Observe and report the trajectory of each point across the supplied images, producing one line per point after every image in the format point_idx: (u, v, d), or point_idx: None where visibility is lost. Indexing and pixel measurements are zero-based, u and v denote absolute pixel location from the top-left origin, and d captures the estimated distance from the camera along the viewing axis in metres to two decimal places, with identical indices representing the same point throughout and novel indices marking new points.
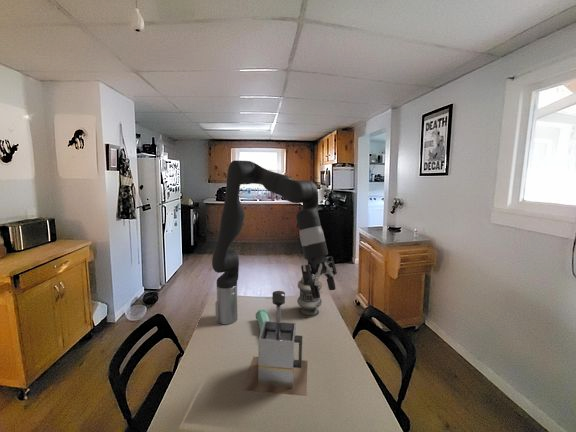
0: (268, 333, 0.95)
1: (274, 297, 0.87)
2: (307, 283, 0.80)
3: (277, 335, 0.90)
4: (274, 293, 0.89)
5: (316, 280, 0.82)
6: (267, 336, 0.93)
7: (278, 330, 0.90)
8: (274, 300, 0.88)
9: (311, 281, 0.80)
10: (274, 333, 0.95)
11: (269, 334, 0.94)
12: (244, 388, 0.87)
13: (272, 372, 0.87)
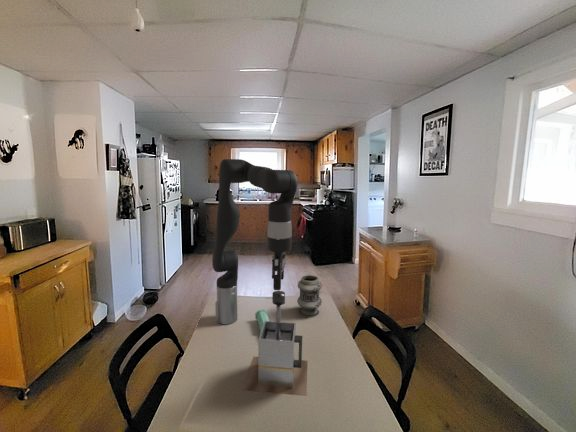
0: (268, 333, 0.95)
1: (274, 297, 0.87)
2: (276, 277, 0.81)
3: (277, 335, 0.90)
4: (274, 293, 0.89)
5: (281, 273, 0.83)
6: (267, 336, 0.93)
7: (278, 330, 0.90)
8: (274, 300, 0.88)
9: (280, 275, 0.81)
10: (274, 333, 0.95)
11: (269, 334, 0.94)
12: (244, 388, 0.87)
13: (272, 372, 0.87)
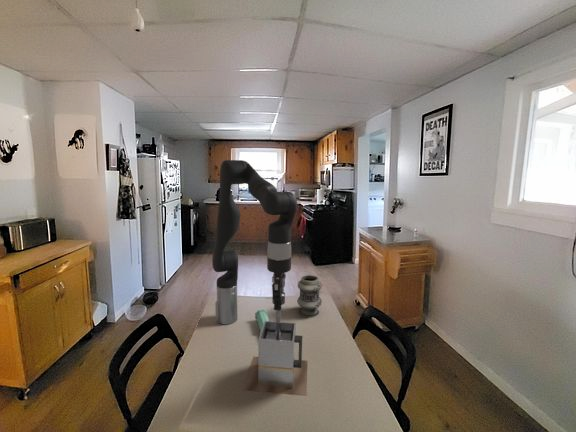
0: (268, 333, 0.95)
1: None
2: (276, 298, 0.84)
3: (277, 335, 0.90)
4: None
5: (281, 294, 0.86)
6: (267, 336, 0.93)
7: (278, 330, 0.90)
8: None
9: (281, 296, 0.84)
10: (274, 333, 0.95)
11: (269, 334, 0.94)
12: (244, 388, 0.87)
13: (272, 372, 0.87)
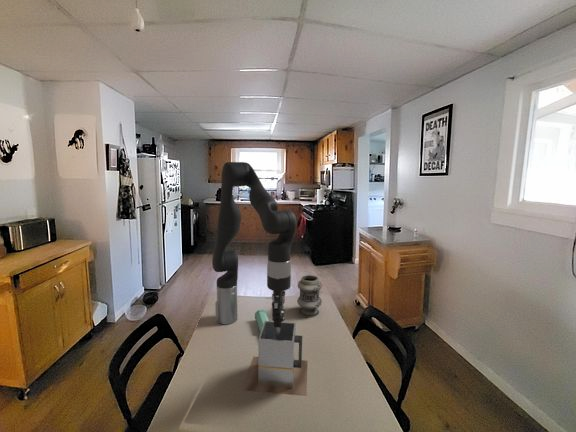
0: None
1: None
2: (276, 316, 0.85)
3: None
4: None
5: None
6: None
7: None
8: None
9: (280, 314, 0.85)
10: None
11: None
12: (244, 388, 0.87)
13: (272, 372, 0.87)
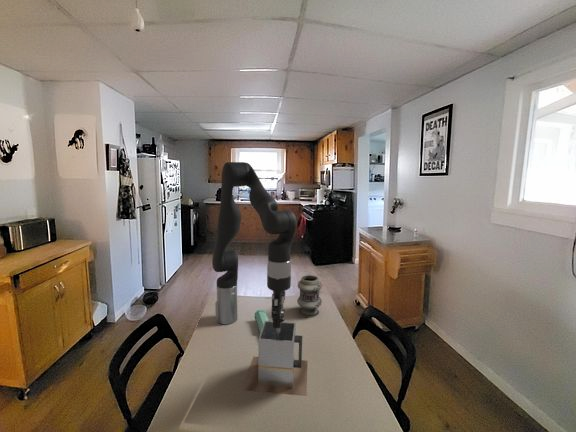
0: None
1: None
2: (275, 316, 0.83)
3: None
4: None
5: (280, 312, 0.85)
6: None
7: None
8: None
9: (280, 315, 0.83)
10: None
11: None
12: (244, 388, 0.87)
13: (272, 372, 0.87)
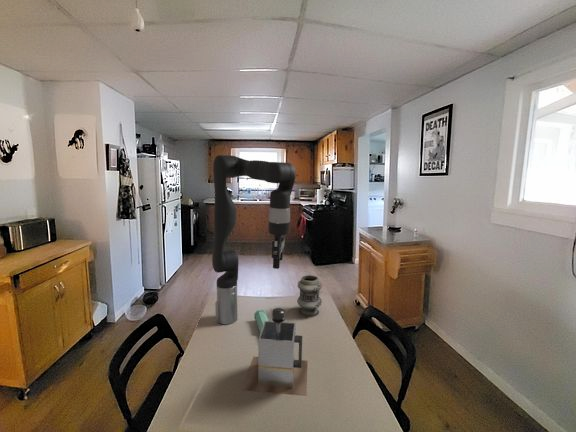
0: None
1: (274, 315, 0.88)
2: (275, 256, 0.92)
3: None
4: (274, 310, 0.90)
5: (280, 254, 0.95)
6: None
7: None
8: (274, 318, 0.89)
9: (279, 255, 0.92)
10: None
11: None
12: (244, 388, 0.87)
13: (272, 372, 0.87)
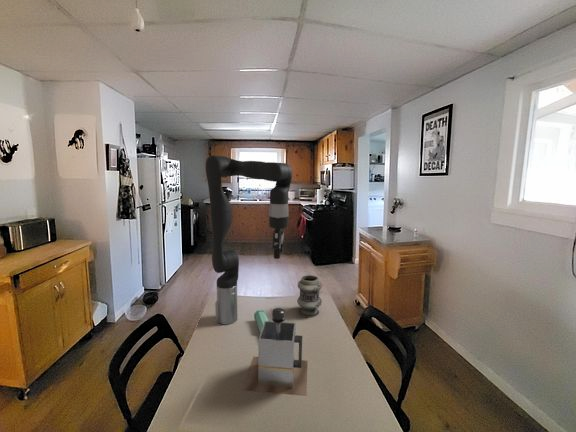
0: None
1: (274, 315, 0.88)
2: (276, 247, 1.02)
3: None
4: (274, 310, 0.90)
5: (280, 245, 1.05)
6: None
7: None
8: (274, 318, 0.89)
9: (279, 246, 1.02)
10: None
11: None
12: (244, 388, 0.87)
13: (272, 372, 0.87)
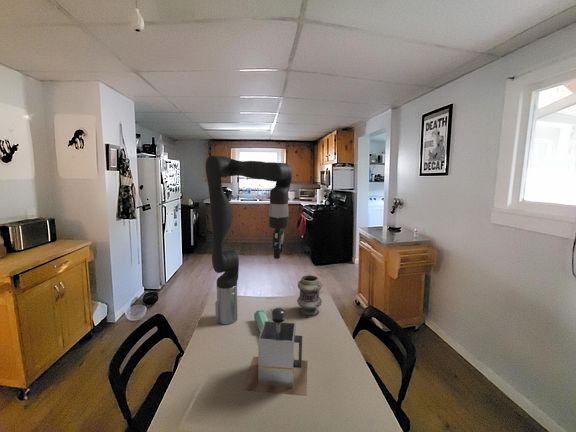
0: None
1: (274, 315, 0.88)
2: (276, 247, 1.02)
3: None
4: (274, 310, 0.90)
5: (280, 245, 1.05)
6: None
7: None
8: (274, 318, 0.89)
9: (279, 246, 1.02)
10: None
11: None
12: (244, 388, 0.87)
13: (272, 372, 0.87)
